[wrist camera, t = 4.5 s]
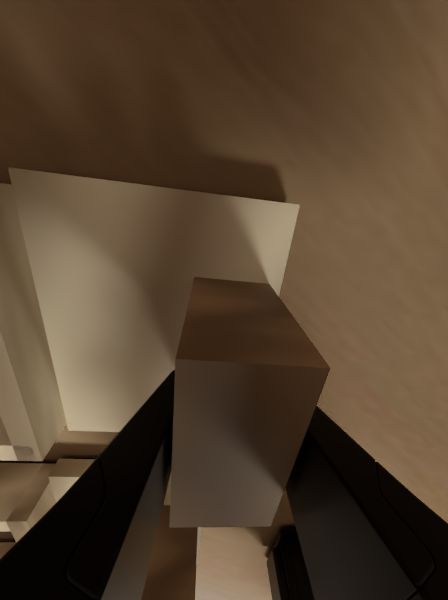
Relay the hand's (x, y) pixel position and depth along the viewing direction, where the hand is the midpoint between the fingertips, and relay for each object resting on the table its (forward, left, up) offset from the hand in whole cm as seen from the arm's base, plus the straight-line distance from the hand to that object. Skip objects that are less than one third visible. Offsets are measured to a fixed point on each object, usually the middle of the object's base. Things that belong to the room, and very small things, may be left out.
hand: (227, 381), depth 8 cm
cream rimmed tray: (+8, 0, -4) cm, 9 cm away
